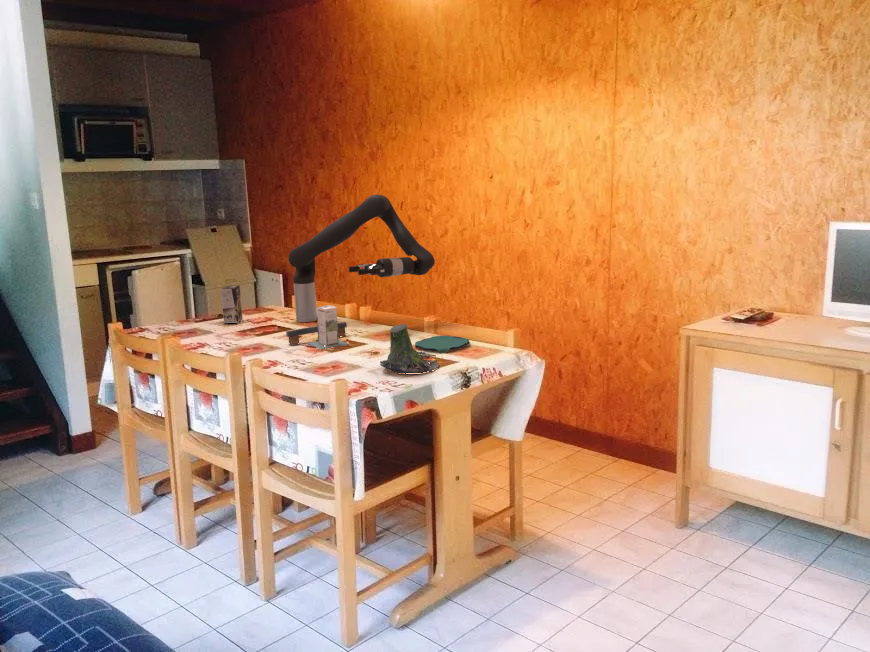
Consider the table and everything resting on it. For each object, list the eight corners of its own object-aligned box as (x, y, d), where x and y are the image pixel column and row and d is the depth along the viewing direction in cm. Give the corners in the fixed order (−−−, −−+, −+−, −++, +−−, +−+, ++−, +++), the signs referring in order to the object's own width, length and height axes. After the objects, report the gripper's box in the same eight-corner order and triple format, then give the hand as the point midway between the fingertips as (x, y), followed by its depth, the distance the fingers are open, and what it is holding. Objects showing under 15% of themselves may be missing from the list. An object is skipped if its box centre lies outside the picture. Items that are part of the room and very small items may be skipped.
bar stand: (289, 344, 295) (288, 335, 294) (342, 335, 307) (341, 326, 306) (292, 345, 292) (291, 336, 292) (345, 336, 304) (345, 327, 304)
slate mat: (307, 344, 293) (307, 343, 293) (335, 339, 299) (335, 338, 299) (320, 350, 283) (320, 349, 283) (349, 345, 289) (349, 343, 289)
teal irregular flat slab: (479, 345, 283) (479, 339, 282) (424, 364, 262) (424, 357, 261) (440, 338, 296) (440, 332, 296) (385, 356, 275) (384, 350, 275)
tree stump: (451, 370, 252) (440, 321, 245) (401, 395, 244) (387, 345, 237) (424, 356, 267) (412, 310, 260) (375, 379, 259) (362, 332, 252)
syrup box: (330, 341, 295) (327, 304, 292) (339, 343, 291) (336, 306, 288) (318, 343, 291) (315, 307, 288) (327, 346, 287) (324, 308, 284)
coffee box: (238, 324, 336) (234, 288, 333) (223, 324, 336) (220, 288, 333) (243, 319, 345) (240, 284, 341) (229, 320, 345) (225, 285, 342)
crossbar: (286, 336, 293) (286, 331, 293) (344, 326, 306) (344, 321, 306) (288, 337, 292) (288, 331, 291) (346, 327, 304) (346, 322, 304)
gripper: (381, 256, 314) (345, 259, 305) (397, 260, 302) (361, 263, 294) (381, 274, 315) (346, 277, 307) (398, 278, 304) (362, 282, 295)
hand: (353, 270), depth 300 cm, fingers open, 8 cm apart
